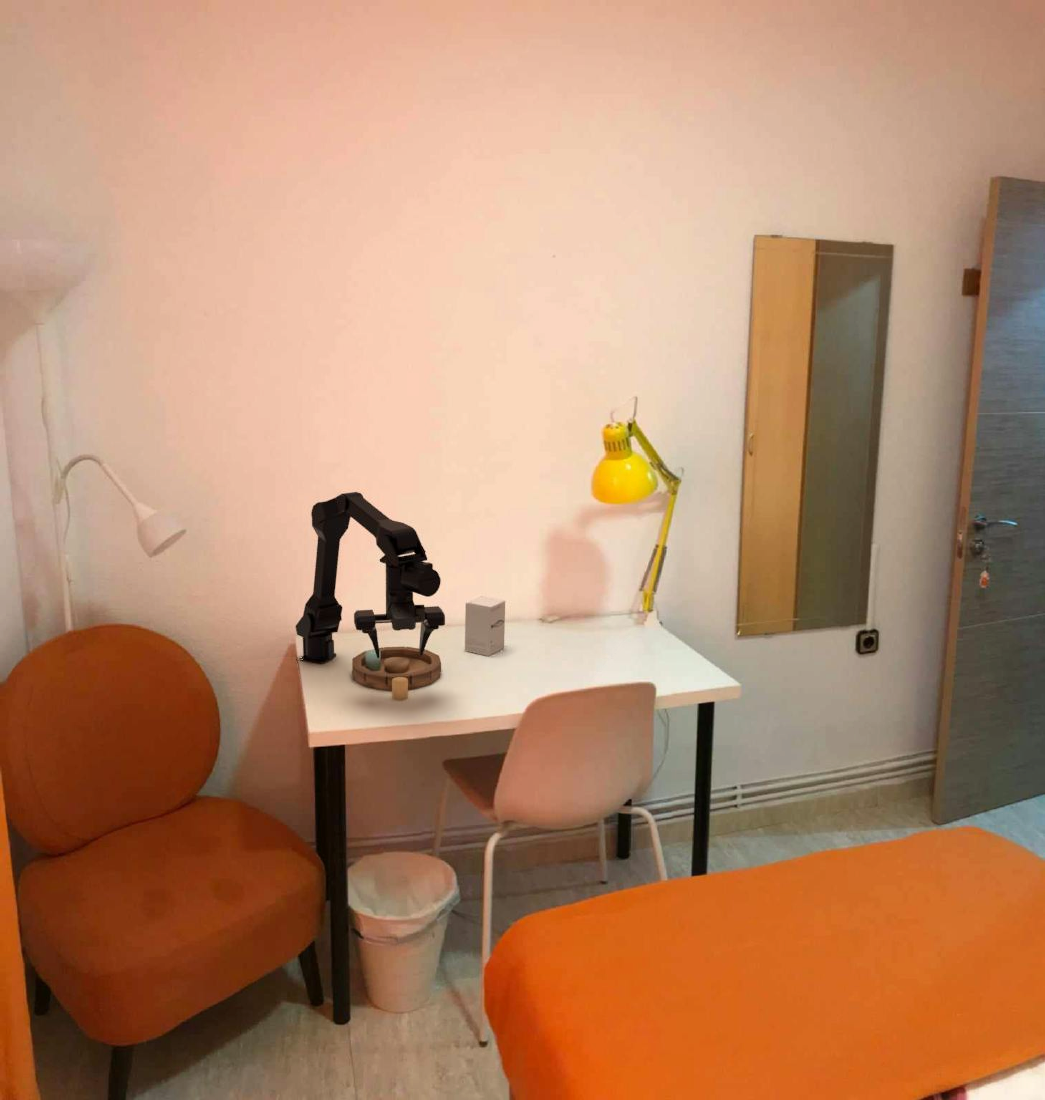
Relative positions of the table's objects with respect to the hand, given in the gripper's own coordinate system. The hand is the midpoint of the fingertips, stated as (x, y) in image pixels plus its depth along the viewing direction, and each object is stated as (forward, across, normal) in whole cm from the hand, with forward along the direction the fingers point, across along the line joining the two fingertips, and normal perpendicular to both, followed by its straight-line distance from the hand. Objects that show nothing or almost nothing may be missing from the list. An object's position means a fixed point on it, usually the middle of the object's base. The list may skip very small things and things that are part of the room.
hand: (399, 656), depth 213 cm
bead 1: (+8, -4, +15) cm, 18 cm away
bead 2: (+9, 0, 0) cm, 9 cm away
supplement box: (+10, +25, +26) cm, 38 cm away
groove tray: (+9, +1, +14) cm, 17 cm away
